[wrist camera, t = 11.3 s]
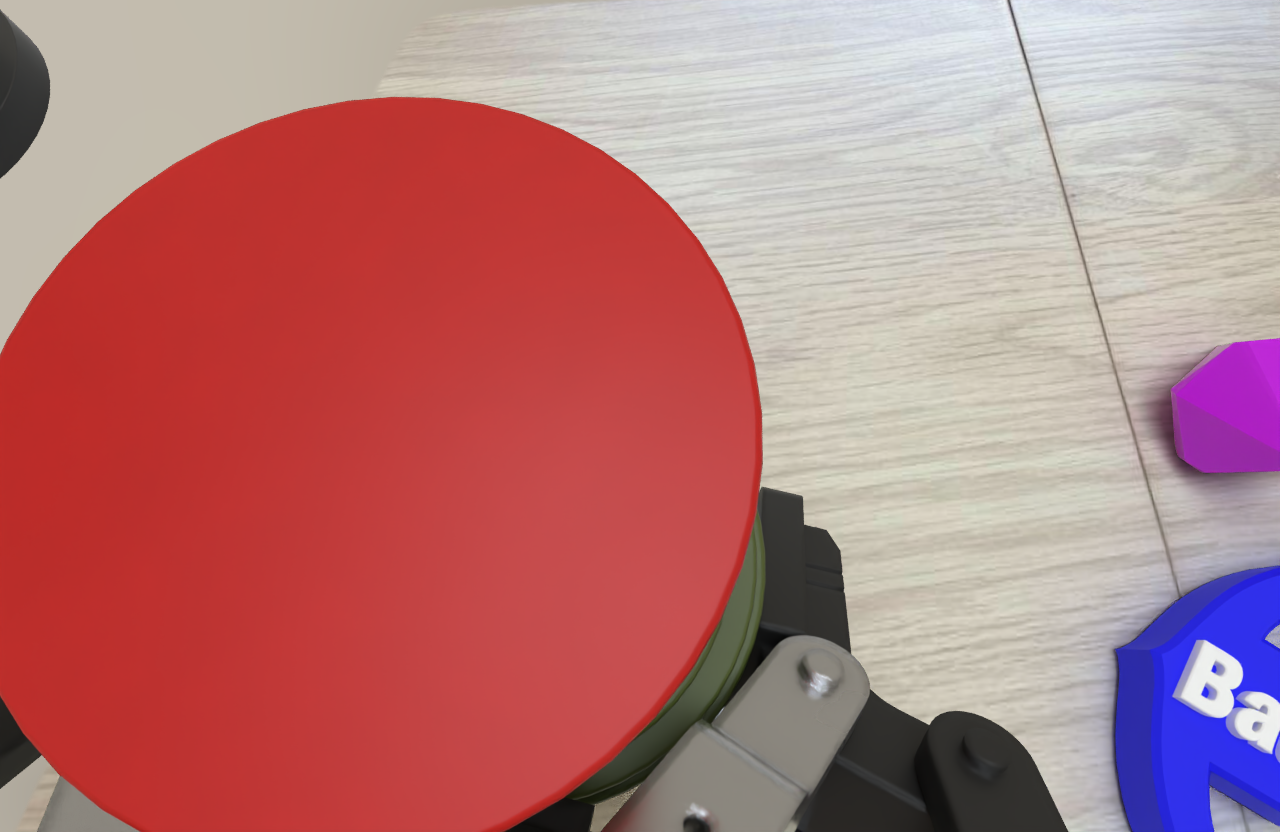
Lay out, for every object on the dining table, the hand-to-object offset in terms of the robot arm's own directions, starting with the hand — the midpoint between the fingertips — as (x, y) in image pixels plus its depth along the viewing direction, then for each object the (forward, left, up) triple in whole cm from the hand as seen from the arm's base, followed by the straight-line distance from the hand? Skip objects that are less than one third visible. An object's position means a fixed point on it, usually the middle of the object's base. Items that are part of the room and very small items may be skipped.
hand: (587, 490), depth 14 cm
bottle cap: (0, -2, +6) cm, 6 cm away
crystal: (+22, +11, -16) cm, 29 cm away
